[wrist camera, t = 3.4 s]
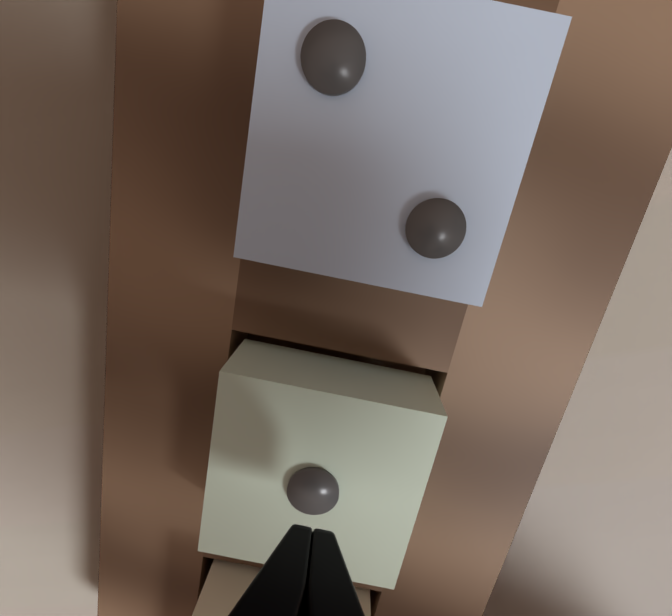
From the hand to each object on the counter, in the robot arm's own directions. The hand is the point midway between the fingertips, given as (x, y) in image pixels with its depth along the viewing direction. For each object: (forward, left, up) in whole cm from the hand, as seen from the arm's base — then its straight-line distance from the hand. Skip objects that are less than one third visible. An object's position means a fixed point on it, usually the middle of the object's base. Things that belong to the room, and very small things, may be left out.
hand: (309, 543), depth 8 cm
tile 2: (+8, 0, -3) cm, 8 cm away
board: (0, 0, -6) cm, 6 cm away
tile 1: (0, 0, -3) cm, 3 cm away
